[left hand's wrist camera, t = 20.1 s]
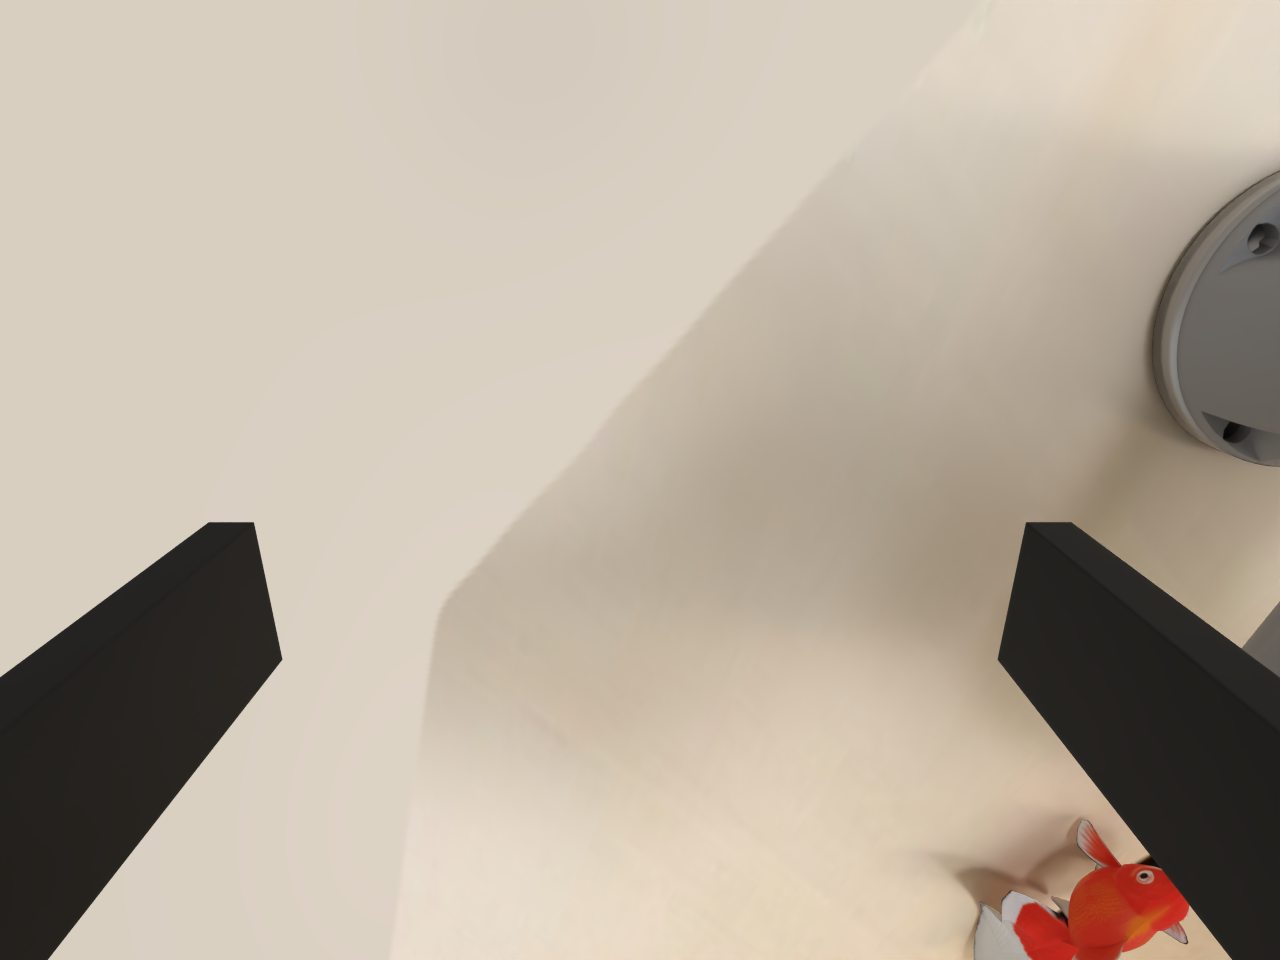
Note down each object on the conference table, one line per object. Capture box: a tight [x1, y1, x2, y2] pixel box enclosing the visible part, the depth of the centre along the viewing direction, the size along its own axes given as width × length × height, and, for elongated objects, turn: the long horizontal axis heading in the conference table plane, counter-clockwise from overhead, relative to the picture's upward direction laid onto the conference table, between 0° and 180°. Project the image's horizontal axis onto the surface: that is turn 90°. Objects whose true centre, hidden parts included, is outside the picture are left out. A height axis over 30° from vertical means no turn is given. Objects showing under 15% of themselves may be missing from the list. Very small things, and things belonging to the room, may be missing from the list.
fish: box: [974, 820, 1189, 960], centre depth 48 cm, size 11×16×10 cm
